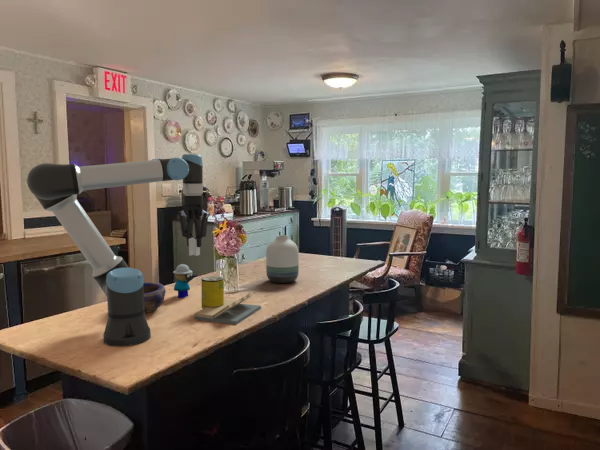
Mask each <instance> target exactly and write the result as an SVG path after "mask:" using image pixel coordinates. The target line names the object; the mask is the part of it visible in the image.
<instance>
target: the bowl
mask: <svg viewBox="0 0 600 450" xmlns="http://www.w3.org/2000/svg"><path fill="white" fill-rule="evenodd" d="M166 292H167V291H166V288H165V285H164V284H162V283H160V282H144V313H150V312H151V313H152V312H154V311H156V310H157V309H158V308H159V307H160V306H161V305H162V304H163V302H164V300H165V296H166Z"/></svg>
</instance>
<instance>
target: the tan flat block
mask: <svg viewBox="0 0 600 450" xmlns="http://www.w3.org/2000/svg"><path fill="white" fill-rule="evenodd" d="M241 301H242V300H241V298H239V299H237V301H235V302H233V303H231V304H230V305H228V306H226V307H225V308H223V309H222V310H220V311H219V312H217V313H216V314H214V317H217V316H219V315H220V314H222V313H224V312H226V311H228V310H229V309H231V308H232V307H234V306H235V305H237V304H238V303H240V302H241ZM240 304H241V303H240Z"/></svg>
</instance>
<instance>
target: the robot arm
mask: <svg viewBox="0 0 600 450" xmlns="http://www.w3.org/2000/svg"><path fill="white" fill-rule="evenodd" d="M203 168H204V166H203V157H202V156H201V154H198V153H197V154H196V153H194V154H193V153H192V154H191V153H187V154H182V156H181V158H180V157H173V158H172V157H171V158H152V159H149V160H148V159H147V160H140V161H138V160H137V161H127V162H118V163H117V162H115V163H107V164H105V163H103V164H95V165H94V164H93V165H83V166H82V165H81V166H78V165H77V164H76V163H71V164H63V163H62V164H58V163H57V164H56V163H49V162H47V163H45V162H44V163H40V164H37V165H35V166H33V167H32V168H31V169H30V170H29V172H28V174H27V176H26V177H27V178H26V184H27V187H28V189H29V191H30V193H31V194H33V196H34V197H35V198H36V200H37V201H38V203H39V204H40V205H41V207H42V208H43V210H44V211H48V212H51V213H53V215H54V216H55V217H56V219H57V220H58V222H59V223H60V224H61V225H62V226H61V227H63V229H64V230H65V232H66V233H67V234H68V236H69V237H70V238H71V240H72V242H73V243H74V245H76V247H77V248H78V250H79V251H80V253H81V254H82V255H83V257H84V258H85V259H86V261H87V262H88V263H89V265H90V267H91V268H92V270H93V271H92V273H91V276H92V277H93V279H94V280H95V281H96V283H97V284H98V286H99V287H100V289H101V291H102V292H103V293H104V294H105V296H106V302H107V320H106V324H105V329H104V332H103V334H102V336H103V337H102V338H103V339H102V340H103V343H104V344H105V345H108V346H112V347H129V346H133V345H138V344H141V343H144V342H146V341H148V340H149V339H150V338H151V335H152V334H151V328H150V326H149V323H148V321H147V320H148V319H147V318H146V314H145V313H146V312H144V283H145V278H144V274H143V272H142V271H141V270H140V269H139V268H133V267H129V266H128V264H127V263H126V261H125V260H124V258H123V257H122V256H119V255H116V254H115V252H114V251H113V250H112V249H111V247H110V246H109V244H108V243H107V241H106V239H105V238H104V237H103V236H102V234H101V232H100V231H99V229H98V228H97V227H96V225H95V224H94V222H93V221H92V219H91V218H90V217H89V215H88V213H87V212H86V211H85V209H84V208H83V207H82V205H81V204H80V202H79V200H78V199H77V197H78V195H80V194H81V193H82V192H83V191H90V190H96V189H97V190H99V189H105V188H116V187H117V188H118V187H124V186H125V187H126V186H132V185H133V186H134V185H142V184H151V183H159V182H169V181H181V180H182V194H183V196H182V199H183V200H182V203H183V207H182V210H181V211H178V212H177V216H178V218H179V223H180V229H181V234H182V237H184V238H186V245H187V247H188V256H190V257H191V256H195V257H198V256H201V247H202V239H203V238H205V237H207V231H208V230H207V228H208V221H209V217H210V215H211V213H210V211H209V212H208V211H205V210H204V209H205V208H204V196H203V193H204V184H203V183H204V182H203V178H204V177H203V173H204V172H203V171H204V170H203ZM193 229H194V230H193ZM193 231H194V232H195V237H194V235H193V234H194V233H193Z"/></svg>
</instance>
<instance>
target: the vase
mask: <svg viewBox="0 0 600 450" xmlns="http://www.w3.org/2000/svg"><path fill="white" fill-rule="evenodd" d="M265 250H266V252H265V253H266V254H265V265H266V267H265V270H266V271H265V273H266V277H267V279H268V281H270V282H273V283H277V284H287V283H293V282H295V281H296V280H297V278H298V276H299V271H300V270H299V267H300V266H299V265H300V263H299V262H300V261H299V260H300V257H299V255H300V254H299V253H300V252H299V247H298V245H297V244H296V242H295V241H293V240H292V239H291V238H290V236H289V235H287V234H284V235H283V234H281V235H276V237H275V239H274V240H272V241H271V242H270V243H269V244H268V245H267V247H266V249H265Z"/></svg>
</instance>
